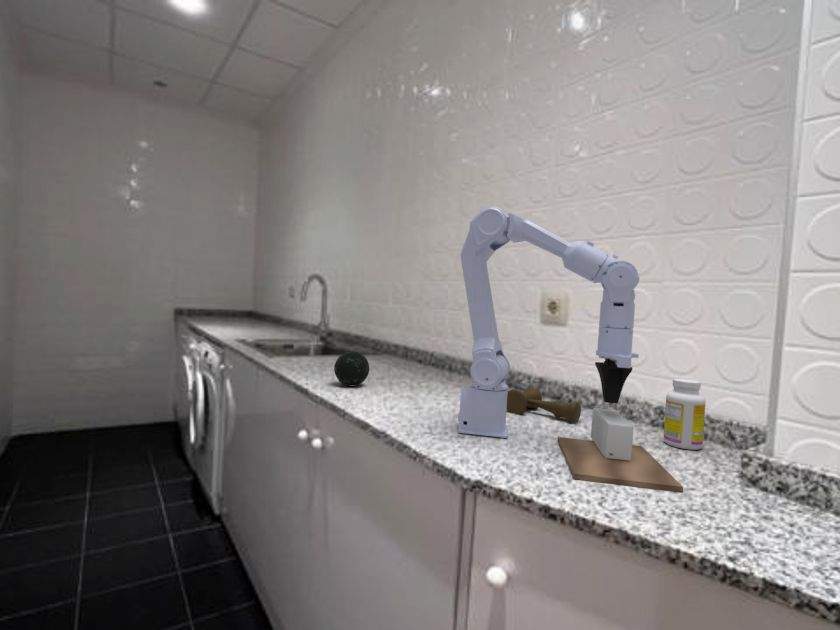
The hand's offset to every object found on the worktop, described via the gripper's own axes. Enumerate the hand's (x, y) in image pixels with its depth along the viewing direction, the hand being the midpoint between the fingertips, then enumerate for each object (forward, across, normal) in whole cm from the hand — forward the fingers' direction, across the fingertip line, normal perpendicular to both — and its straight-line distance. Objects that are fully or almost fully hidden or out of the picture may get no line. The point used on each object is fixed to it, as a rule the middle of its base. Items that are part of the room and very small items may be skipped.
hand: (610, 402), depth 80 cm
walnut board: (+9, -7, +1) cm, 11 cm away
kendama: (+9, +24, +11) cm, 28 cm away
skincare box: (+5, +4, 0) cm, 7 cm away
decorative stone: (+9, +36, +62) cm, 72 cm away
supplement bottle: (+9, +9, -16) cm, 20 cm away
